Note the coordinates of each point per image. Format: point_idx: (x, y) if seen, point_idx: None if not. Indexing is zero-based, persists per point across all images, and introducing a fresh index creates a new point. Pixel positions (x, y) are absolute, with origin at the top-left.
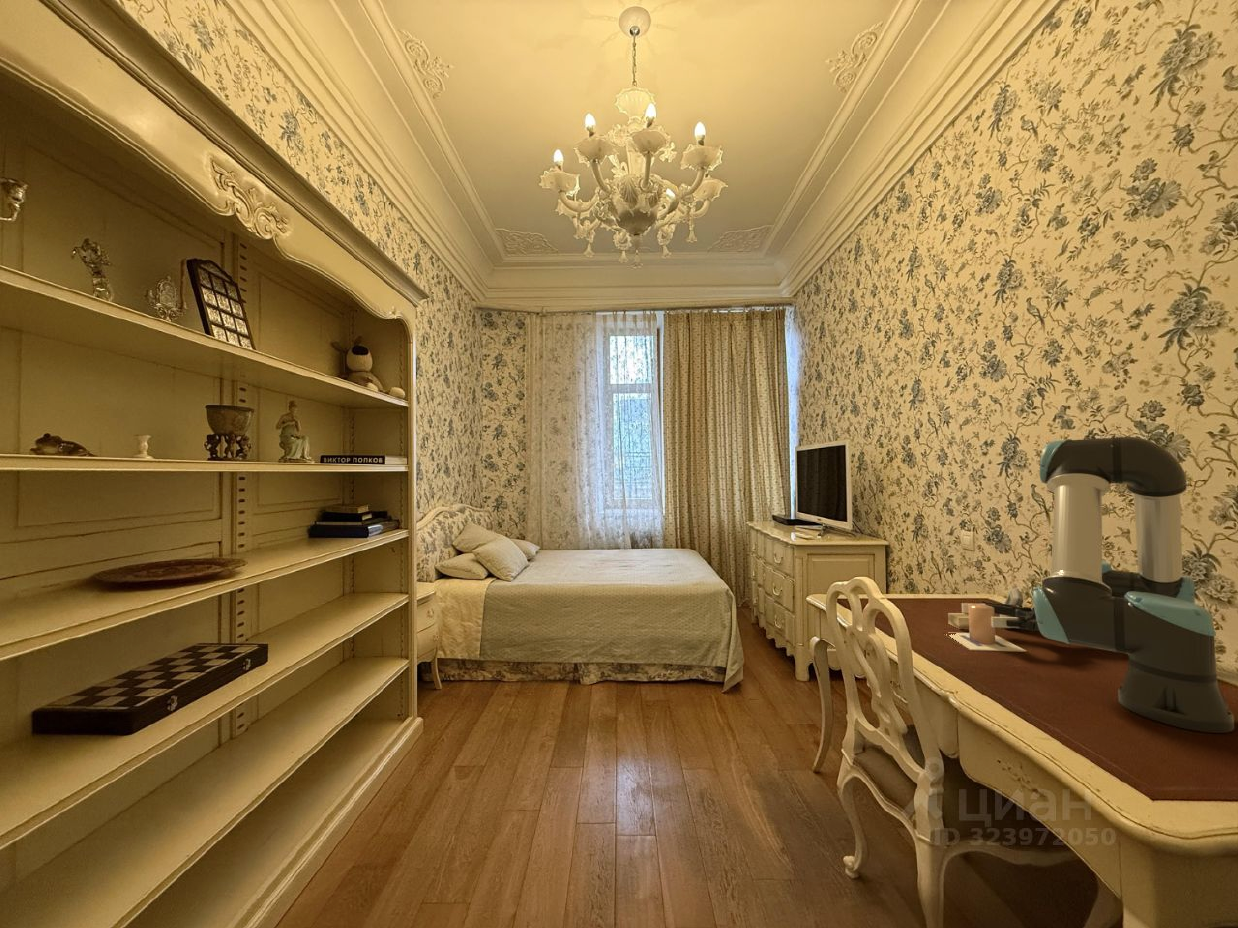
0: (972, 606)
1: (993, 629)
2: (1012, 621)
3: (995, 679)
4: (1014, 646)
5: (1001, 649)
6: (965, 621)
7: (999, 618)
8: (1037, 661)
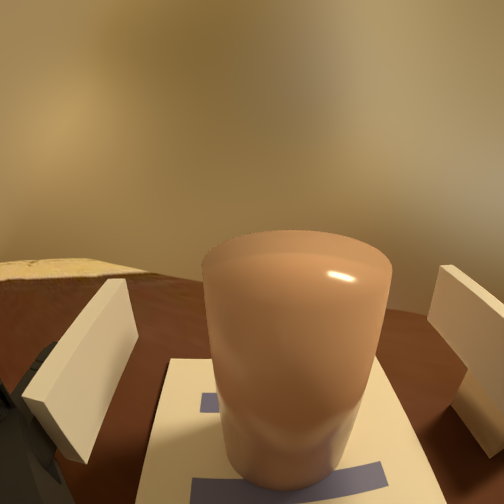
0: (284, 235)
1: (225, 419)
2: (39, 358)
3: (16, 311)
4: None
5: (153, 455)
6: (485, 394)
7: (93, 306)
8: None
